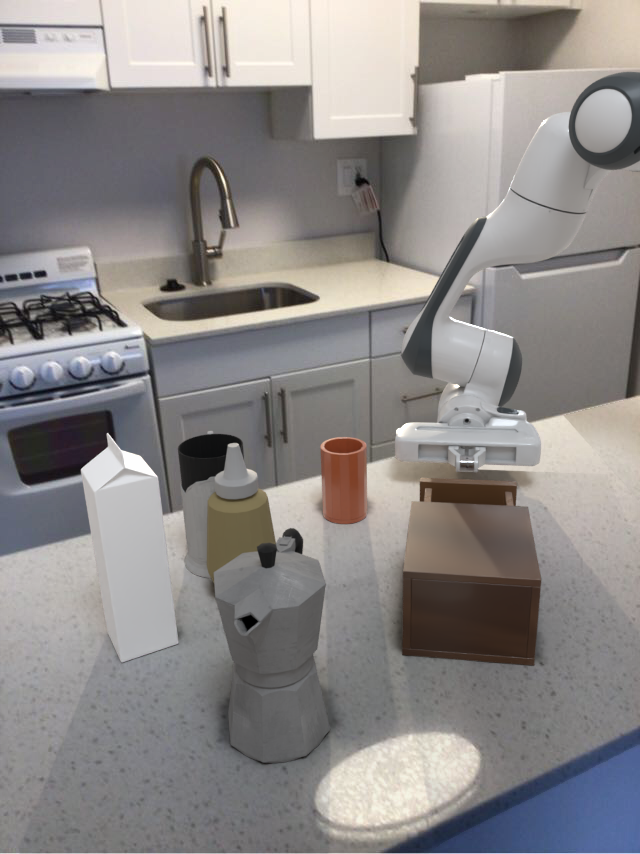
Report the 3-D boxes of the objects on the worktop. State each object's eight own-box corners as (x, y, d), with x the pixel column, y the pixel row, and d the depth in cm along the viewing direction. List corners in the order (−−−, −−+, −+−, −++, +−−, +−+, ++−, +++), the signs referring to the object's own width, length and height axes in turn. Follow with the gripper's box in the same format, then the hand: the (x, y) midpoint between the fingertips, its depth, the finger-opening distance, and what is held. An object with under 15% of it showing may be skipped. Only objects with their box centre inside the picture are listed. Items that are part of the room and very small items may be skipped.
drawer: (420, 517, 99) (421, 463, 96) (510, 521, 97) (514, 466, 94) (413, 594, 83) (414, 531, 80) (521, 601, 81) (525, 537, 78)
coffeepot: (313, 793, 59) (304, 598, 53) (200, 775, 61) (178, 585, 55) (350, 666, 73) (346, 499, 67) (257, 654, 75) (244, 492, 69)
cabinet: (410, 574, 88) (411, 500, 84) (522, 581, 86) (528, 506, 82) (402, 655, 74) (402, 571, 71) (534, 665, 72) (541, 579, 69)
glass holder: (184, 581, 88) (170, 464, 83) (185, 524, 101) (174, 419, 96) (259, 573, 89) (251, 456, 84) (251, 517, 102) (243, 413, 97)
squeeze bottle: (264, 617, 81) (253, 464, 74) (196, 605, 84) (180, 456, 77) (291, 577, 88) (283, 434, 82) (228, 567, 91) (215, 427, 84)
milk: (121, 664, 75) (87, 460, 67) (106, 631, 80) (73, 438, 72) (180, 643, 77) (154, 445, 69) (162, 613, 82) (136, 425, 74)
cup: (365, 502, 105) (364, 436, 102) (368, 523, 100) (367, 453, 96) (322, 504, 105) (320, 437, 102) (323, 524, 100) (320, 455, 96)
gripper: (396, 408, 114) (389, 442, 102) (536, 411, 111) (546, 447, 98) (396, 446, 117) (389, 485, 104) (533, 450, 113) (543, 491, 100)
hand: (467, 467), depth 101 cm, fingers closed
